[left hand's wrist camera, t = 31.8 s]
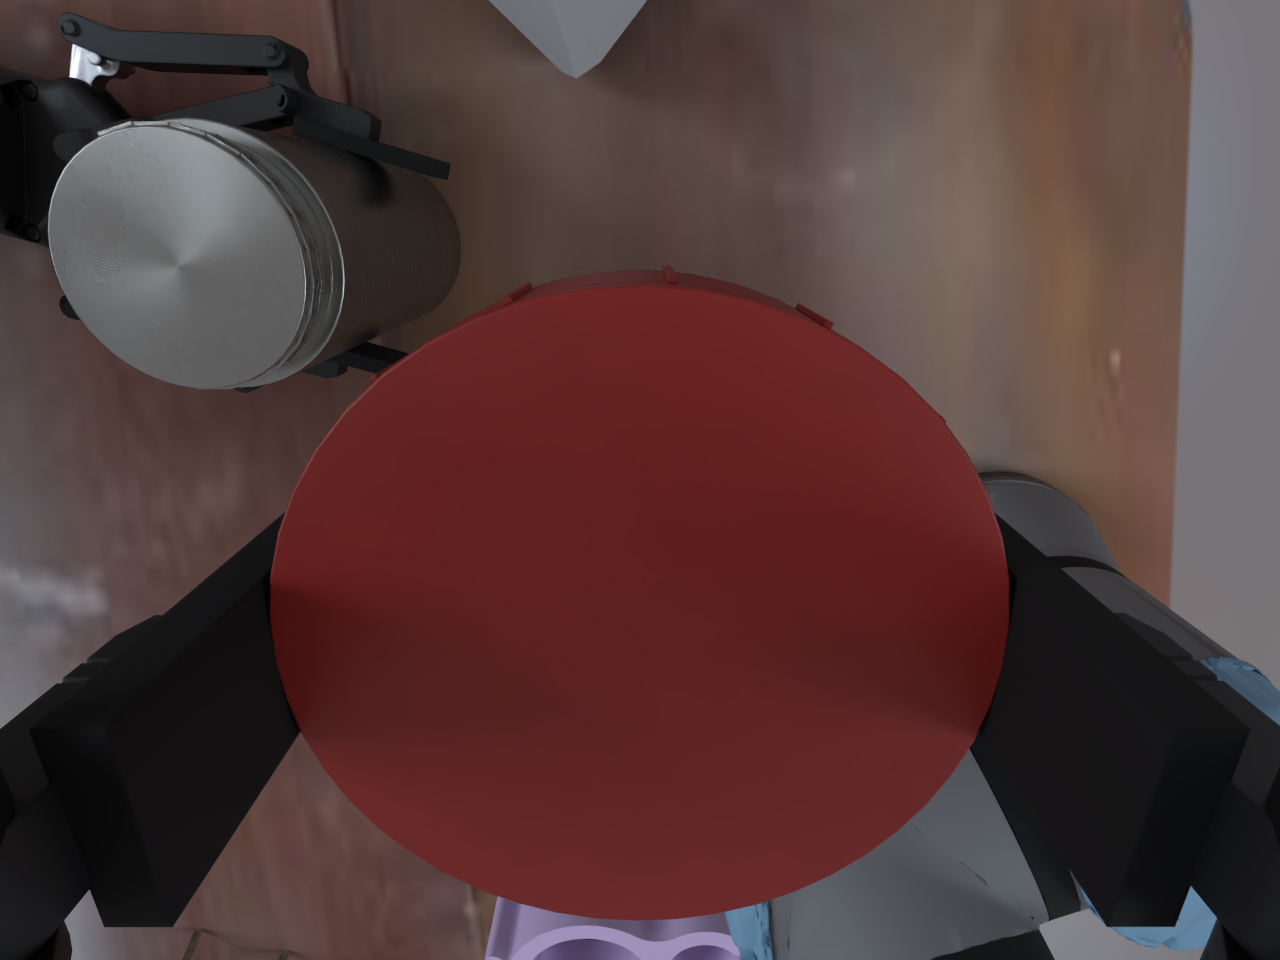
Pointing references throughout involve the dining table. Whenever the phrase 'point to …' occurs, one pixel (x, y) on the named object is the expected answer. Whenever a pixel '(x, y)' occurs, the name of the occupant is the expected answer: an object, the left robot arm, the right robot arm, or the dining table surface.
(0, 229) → the right robot arm
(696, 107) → the dining table surface
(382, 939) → the dining table surface
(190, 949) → the dark tall lattice tower
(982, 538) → the lid
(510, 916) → the clip
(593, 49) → the electronic device
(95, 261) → the jar
